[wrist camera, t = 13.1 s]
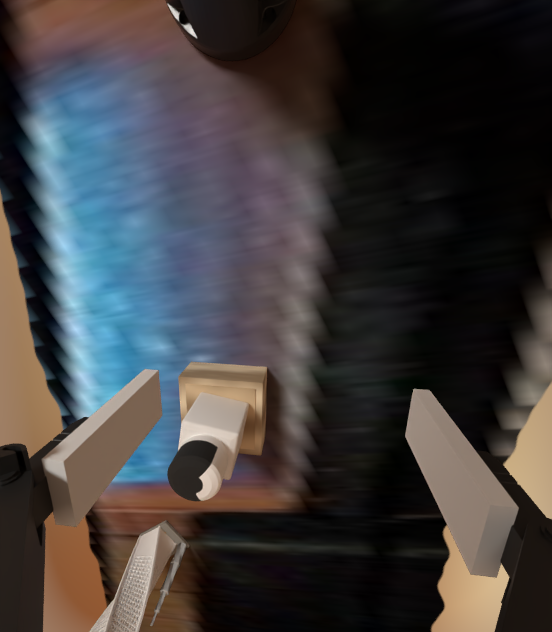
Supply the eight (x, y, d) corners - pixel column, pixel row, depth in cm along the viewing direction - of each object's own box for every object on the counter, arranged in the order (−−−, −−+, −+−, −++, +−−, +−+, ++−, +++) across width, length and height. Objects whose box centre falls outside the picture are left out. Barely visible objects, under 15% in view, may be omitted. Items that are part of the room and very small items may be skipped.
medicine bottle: (194, 432, 45) (156, 501, 34) (200, 390, 43) (162, 449, 32) (241, 443, 45) (219, 516, 34) (249, 402, 43) (229, 465, 32)
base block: (191, 361, 48) (178, 377, 43) (267, 367, 47) (262, 383, 42) (194, 427, 51) (182, 448, 46) (265, 433, 50) (261, 456, 45)
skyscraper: (158, 560, 61) (42, 821, 34) (131, 533, 60) (-12, 782, 33) (189, 544, 59) (92, 809, 32) (162, 516, 58) (36, 767, 31)
